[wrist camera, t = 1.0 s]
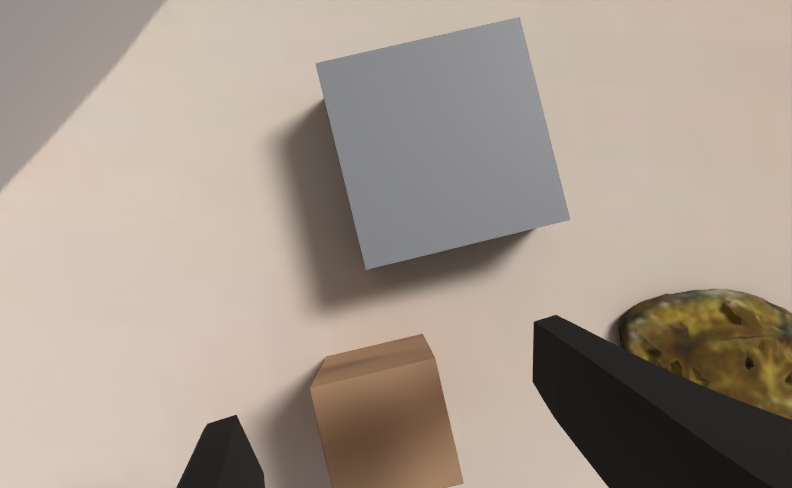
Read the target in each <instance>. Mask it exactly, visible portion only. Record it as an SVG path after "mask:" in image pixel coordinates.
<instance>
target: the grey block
mask: <svg viewBox="0 0 792 488" xmlns="http://www.w3.org/2000/svg"><path fill="white" fill-rule="evenodd" d="M316 67H317V72H318V76H319V80H320V84H321V88H322V92H323V96H324V100H325V104H326V108H327V113H328V117H329V121H330V125H331V129H332V133H333V137H334V141H335V145H336V150H337V154H338V158H339V162H340V166H341V170H342V174H343V178H344V182H345V186H346V191H347V195H348V199H349V203H350V207H351V211H352V215H353V219H354V223H355V228H356V232H357V236H358V240H359V244H360V248H361V252H362V256H363V260H364V264H365V269H366V270H368V269H372V268H376V267H380V266H384V265H388V264H392V263H397V262H401V261H405V260H409V259H413V258H417V257H421V256H425V255H429V254H433V253H437V252H441V251H445V250H449V249H454V248H458V247H462V246H466V245H470V244H474V243H478V242H482V241H486V240H490V239H494V238H498V237H502V236H506V235H510V234H515V233H519V232H523V231H527V230H531V229H535V228H539V227H543V226H547V225H551V224H555V223H559V222H563V221H567V220H570V217H569V213H568V209H567V205H566V201H565V197H564V193H563V189H562V185H561V181H560V177H559V173H558V169H557V165H556V161H555V157H554V153H553V149H552V145H551V141H550V137H549V133H548V129H547V125H546V121H545V117H544V113H543V109H542V105H541V101H540V97H539V93H538V89H537V85H536V81H535V77H534V73H533V69H532V65H531V61H530V57H529V53H528V49H527V45H526V41H525V37H524V33H523V29H522V25H521V21H520V17H518V18H514V19H510V20H505V21H501V22H496V23H492V24H487V25H483V26H479V27H474V28H470V29H465V30H461V31H456V32H452V33H448V34H443V35H439V36H434V37H430V38H425V39H421V40H417V41H412V42H408V43H403V44H399V45H395V46H390V47H386V48H381V49H377V50H372V51H368V52H364V53H359V54H355V55H350V56H346V57H341V58H337V59H333V60H328V61H324V62H319V63H316Z"/></svg>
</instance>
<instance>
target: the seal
mask: <svg viewBox="0 0 792 488" xmlns="http://www.w3.org/2000/svg"><path fill="white" fill-rule="evenodd" d="M619 333H620V337H621V341H622V347H623V349H624V350H626V351H628V352H630V353H632V354H634V355H636V356H639V357H641V358H643V359H645V360H647V361H649V362H651V363H653V364H655V365H657V366H659V367H662V368H664V369H666V370H668V371H670V372H672V373H675V374H677V375H679V376H681V377H684V378H686V379H688V380H691V381H693V382H695V383H697V384H700V385H702V386H704V387H706V388H709V389H711V390H714V391H716V392H719V393H721V394H724V395H726V396H729V397H731V398H734V399H736V400H739V401H742V402H744V403H747V404H750V405H752V406H755V407H758V408H760V409H763V410H766V411H768V412H771V413H774V414H777V415H780V416H783V417H785V418H788V419H791V420H792V313H791V312H789V311H788V310H786V309H784V308H782V307H779V306H776V305H774V304H772V303H769V302H768V301H766V300H765V299H763V298H760V297H757V296H754V295H751V294H748V293H743V292H738V291H733V290H727V289H710V290H693V291H687V292H682V293H675V294H664V295H661V296H659V297H656V298H653V299H649V300H645V301H643V302H641V303H639V304H638V305H636V306H634V307H633V308H631V309H630V310H629V311H628V312H627V313H626V314H625V315H624V316H623V317H622V318H621V319H620V321H619Z"/></svg>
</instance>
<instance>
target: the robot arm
mask: <svg viewBox="0 0 792 488" xmlns="http://www.w3.org/2000/svg"><path fill="white" fill-rule="evenodd" d="M533 383H534V385H535V386H536V388H537V390H538V391H539V393H540V395H541V397H542V398H543V400H544V402H545V403H546V405H547V406H548V408H549V410H550V411H551V413H552V414H553V416H554V418H555V419H556V420H557V422H558V423H559V424H560V426H561V427H562V428H563V430H564V431H565V432H566V433H567V435H568V436H569V437H570V439H571V440H572V441H573V443H574V444H575V445H576V446H577V448H578V449H579V450H580V452H581V453H582V454H583V455H584V457H585V458H586V459H587V460H588V462H589V463H590V464H591V466H592V467H593V468H594V469H595V471H596V472H597V473H598V474H599V476H600V477H601V478H602V480H603V481H604V482H605V483H606V485H607V486H608V487H609V488H792V420H791V419H788V418H785V417H783V416H780V415H777V414H774V413H771V412H768V411H766V410H763V409H760V408H758V407H755V406H752V405H750V404H747V403H744V402H742V401H739V400H736V399H734V398H731V397H729V396H726V395H724V394H721V393H719V392H716V391H714V390H711V389H709V388H706V387H704V386H702V385H700V384H697V383H695V382H693V381H691V380H688V379H686V378H684V377H681V376H679V375H677V374H675V373H672V372H670V371H668V370H666V369H664V368H662V367H659V366H657V365H655V364H653V363H651V362H649V361H647V360H645V359H643V358H641V357H639V356H636V355H634V354H632V353H630V352H628V351H626V350H624V349H622V348H620V347H618V346H616V345H614V344H612V343H610V342H609V341H607V340H605V339H603V338H601V337H599V336H597V335H595V334H593V333H591V332H589V331H587V330H585V329H583V328H581V327H579V326H577V325H575V324H573V323H571V322H569V321H567V320H565V319H563V318H561V317H559V316H557V315H554V316H551V317H548V318H544V319H541V320H538V321H535V322H534V340H533ZM177 488H265V484H264V473H263V471H262V469H261V466H260V464H259V462H258V460H257V458H256V456H255V454H254V451H253V449H252V447H251V445H250V443H249V441H248V439H247V437H246V434H245V432H244V430H243V428H242V426H241V424H240V422H239V419H238V417H237V415H234V416H231V417H228V418H225V419H221V420H218V421H215V422H212V423H209V424H207V425H206V427H205V428H204V430H203V432H202V434H201V437H200V439H199V441H198V443H197V445H196V447H195V450H194V452H193V454H192V456H191V458H190V460H189V462H188V465H187V467H186V469H185V471H184V473H183V475H182V477H181V479H180V481H179V483H178V485H177Z"/></svg>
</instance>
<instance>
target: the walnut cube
mask: <svg viewBox="0 0 792 488" xmlns="http://www.w3.org/2000/svg"><path fill="white" fill-rule="evenodd" d="M310 392H311V396H312V401H313V405H314V410H315V414H316V418H317V423H318V427H319V432H320V436H321V441H322V445H323V450H324V454H325V459H326V463H327V467H328V472H329V476H330V481H331V485H332V488H447V487H451V486H455V485H459V484H463V478H462V474H461V470H460V465H459V461H458V456H457V452H456V448H455V443H454V439H453V435H452V430H451V426H450V421H449V417H448V413H447V408H446V404H445V400H444V395H443V391H442V386H441V382H440V378H439V373H438V369H437V365H436V360H435V357H434V355H433V353H432V351H431V349H430V347H429V345H428V343H427V341H426V339H425V337H424V335H423V334H420V335H416V336H412V337H407V338H403V339H399V340H395V341H391V342H386V343H382V344H378V345H374V346H369V347H365V348H361V349H357V350H353V351H348V352H344V353H340V354H336V355H331V356H327V357H326V358H325V360H324V362H323V364H322V366H321V368H320V370H319V371H318V373H317V375H316V377H315V379H314V381H313V383H312V385H311V386H310Z"/></svg>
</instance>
